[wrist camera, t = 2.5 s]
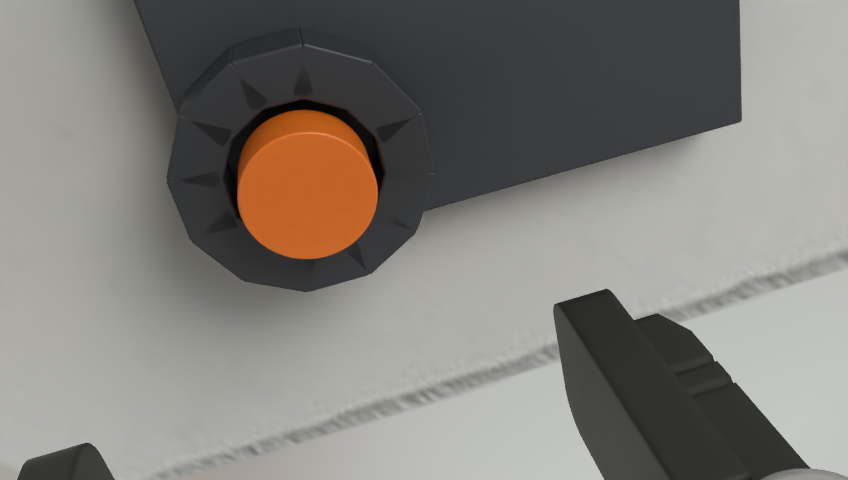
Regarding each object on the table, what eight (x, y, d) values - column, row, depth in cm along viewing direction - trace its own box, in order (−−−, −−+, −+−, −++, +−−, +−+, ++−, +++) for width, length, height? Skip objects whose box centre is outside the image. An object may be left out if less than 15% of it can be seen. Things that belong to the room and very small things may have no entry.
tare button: (261, 244, 19) (262, 276, 18) (219, 129, 18) (217, 154, 16) (382, 210, 20) (391, 239, 18) (350, 93, 18) (359, 115, 17)
